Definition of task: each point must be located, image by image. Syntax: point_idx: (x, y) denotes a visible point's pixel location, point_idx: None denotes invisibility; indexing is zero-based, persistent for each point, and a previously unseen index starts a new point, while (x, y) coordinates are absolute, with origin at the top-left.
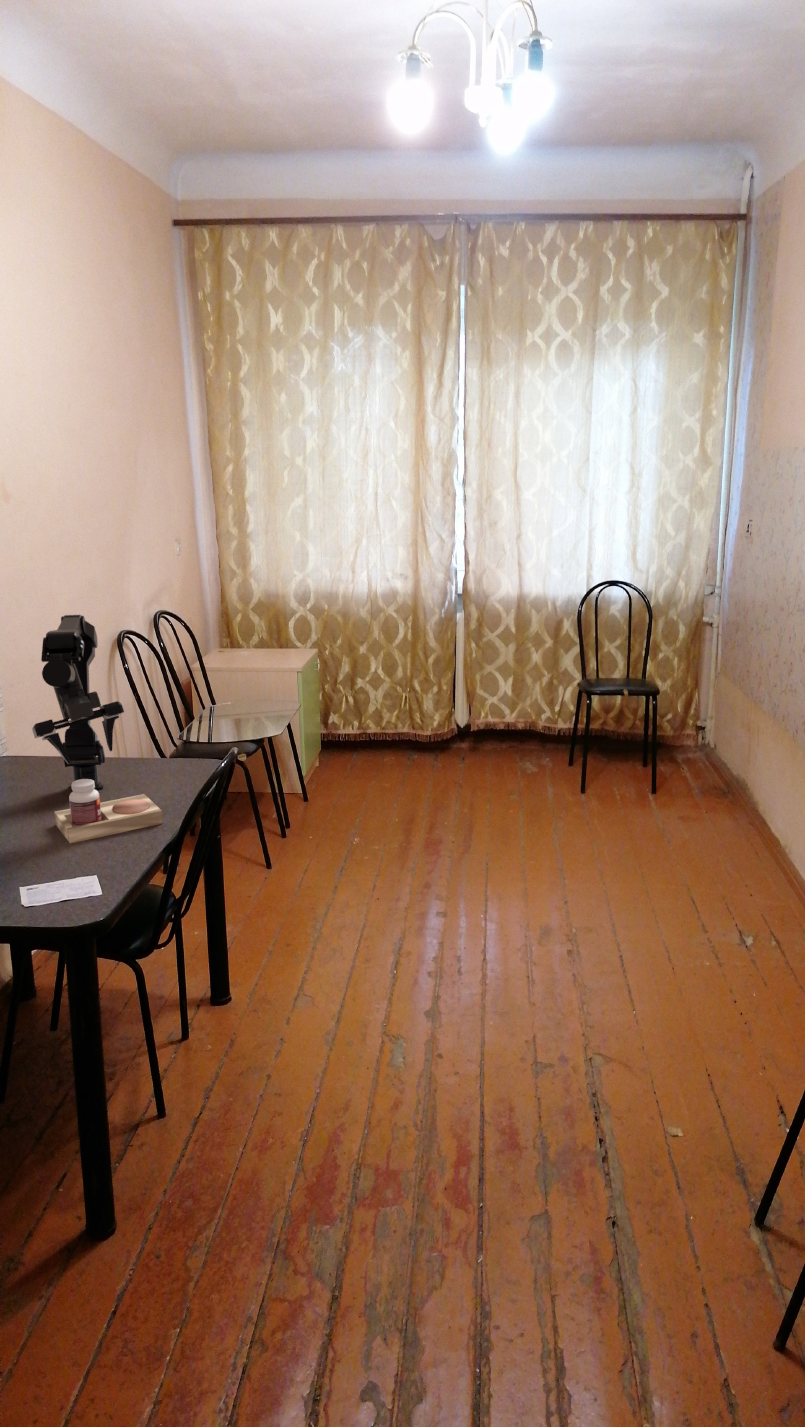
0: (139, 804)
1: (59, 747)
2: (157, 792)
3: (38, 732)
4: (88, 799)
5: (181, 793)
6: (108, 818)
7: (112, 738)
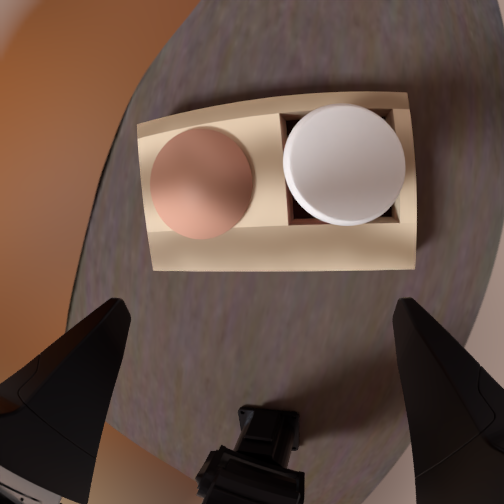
0: (174, 187)
1: (486, 385)
2: (140, 324)
3: None
4: (337, 104)
5: (102, 290)
6: (279, 122)
7: (56, 340)
